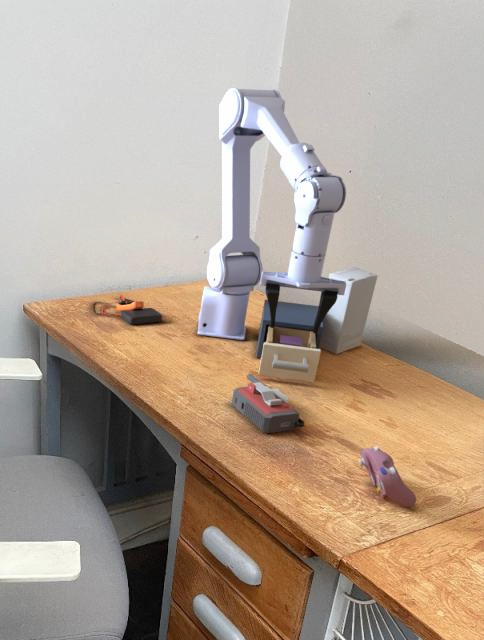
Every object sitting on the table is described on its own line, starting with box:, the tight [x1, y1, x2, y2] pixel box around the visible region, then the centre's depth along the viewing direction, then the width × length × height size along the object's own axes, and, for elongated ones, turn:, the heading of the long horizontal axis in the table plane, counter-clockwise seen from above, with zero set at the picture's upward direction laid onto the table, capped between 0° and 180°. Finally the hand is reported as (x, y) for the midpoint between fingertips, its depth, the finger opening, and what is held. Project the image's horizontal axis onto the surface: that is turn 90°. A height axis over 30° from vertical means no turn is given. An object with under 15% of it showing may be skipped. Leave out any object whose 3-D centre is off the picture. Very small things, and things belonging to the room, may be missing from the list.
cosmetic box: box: [319, 266, 379, 355], centre depth 153 cm, size 8×6×15 cm
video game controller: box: [358, 445, 417, 508], centre depth 108 cm, size 10×5×7 cm, turn 5°
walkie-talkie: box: [231, 373, 306, 434], centre depth 129 cm, size 9×4×20 cm
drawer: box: [257, 325, 322, 383], centre depth 140 cm, size 16×10×6 cm, turn 169°
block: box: [279, 335, 302, 347], centre depth 142 cm, size 4×4×4 cm
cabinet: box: [255, 299, 323, 360], centre depth 151 cm, size 13×11×8 cm
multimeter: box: [92, 294, 163, 325], centre depth 166 cm, size 18×12×3 cm, turn 21°
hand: (293, 328), depth 140 cm, fingers open, 7 cm apart
